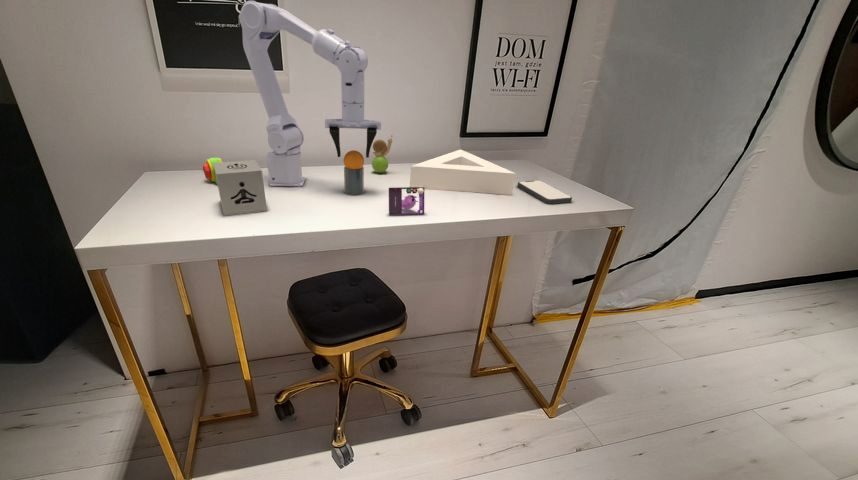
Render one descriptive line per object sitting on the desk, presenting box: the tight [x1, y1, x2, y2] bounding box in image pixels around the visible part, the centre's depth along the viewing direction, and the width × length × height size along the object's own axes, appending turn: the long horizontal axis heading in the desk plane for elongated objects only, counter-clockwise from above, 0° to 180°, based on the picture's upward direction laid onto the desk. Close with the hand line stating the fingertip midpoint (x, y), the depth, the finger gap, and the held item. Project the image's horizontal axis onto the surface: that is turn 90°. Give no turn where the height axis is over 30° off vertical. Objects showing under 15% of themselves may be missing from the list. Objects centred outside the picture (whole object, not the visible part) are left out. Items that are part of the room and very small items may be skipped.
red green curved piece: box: [202, 157, 223, 186], centre depth 116 cm, size 6×19×7 cm, turn 33°
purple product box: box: [388, 186, 425, 216], centre depth 99 cm, size 7×5×9 cm
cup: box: [343, 166, 365, 196], centre depth 110 cm, size 5×5×7 cm
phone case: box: [516, 179, 573, 205], centre depth 116 cm, size 9×2×16 cm
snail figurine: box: [371, 134, 393, 174], centre depth 126 cm, size 5×6×12 cm
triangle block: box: [409, 149, 517, 196], centre depth 120 cm, size 30×26×6 cm
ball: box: [343, 149, 365, 170], centre depth 107 cm, size 6×6×6 cm
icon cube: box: [213, 159, 268, 217], centre depth 96 cm, size 10×10×10 cm
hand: (353, 156), depth 106 cm, fingers open, 7 cm apart
